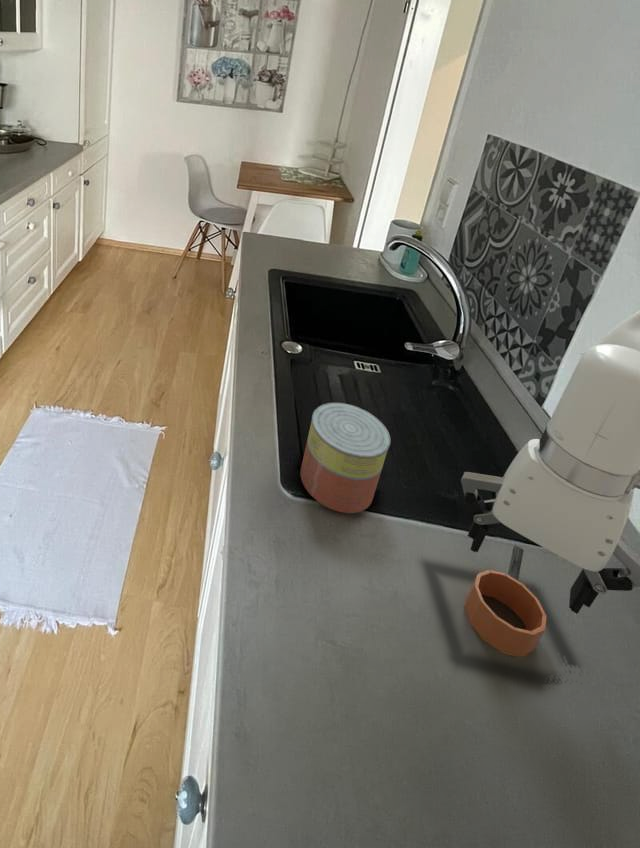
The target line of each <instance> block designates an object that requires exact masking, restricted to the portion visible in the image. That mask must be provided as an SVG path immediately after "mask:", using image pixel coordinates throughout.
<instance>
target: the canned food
mask: <svg viewBox="0 0 640 848" xmlns="http://www.w3.org/2000/svg"><path fill="white" fill-rule="evenodd" d="M391 440H392V439H391V435H390V433H389V430H388V428H387V427H386V426H385V424H383V422H382V421H381V420H380V419H379V418H378V417H376V416H375V415H373V414H372V413H370V412H369V411H367V410H365V409H363V408H361V407H359V406H357V405H353V404H349V403H344V402H328V403H323V404H321V405H319V406H318V407H316V408H315V409H314V410H313V412H312V414H311V421H310V427H309V431H308V436H307V439H306V444H305V448H304V453H303V458H302V461H301V467H300V472H299V473H300V480H301V483H302V485H303V486H304V488H305V490H306V491H307V493H308V494H309V495H310V496H311V497H312V498H313V499H314V500H315V501H316V502H318V503H320V504H321V505H323V506H324V507H326V508H328V509H330V510H333V511H335V512H340V513H345V514H356V513H360V512H363V511H366V509H368V508H369V507H370V506H371V504H372V503H373V499H374V496H375V493H376V489H377V486H378V483H379V479H380V476H381V474H382V470H383V468H384V464H385V460H386V456H387V453H388V450H389V448H390V446H391V443H392V442H391Z"/></svg>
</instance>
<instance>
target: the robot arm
mask: <svg viewBox="0 0 640 848" xmlns="http://www.w3.org/2000/svg"><path fill="white" fill-rule="evenodd" d="M460 483H461V487H462V493H463V494H464V501H465V502H466V505H467V506H468V508H469V509H470V511H471V513H472V515H473V521H472V524H471V525H470V527H469V530H468V533H467V537H468V538H470V539H472V543H471V546H470V548H469V549H470V551H472V552H473V553H479V550H480V549H481V546H482V544H483V542H484V540H485V538H486V536H487V534H488V532H489V528H490V525H495V524H503V526H506V527H507V528H508V529H511V530H512V531H514V532H515V533H517V534H519V535H521V536H522V537H525V538H526V539H528V540H529V541H530V542H531V541H532V542H533V543H535V544H537V545H538V546H540V547H542V548H544V549H545V550H547V551H550V552H551V553H553V554H555V555H556V556H558V557H560V558H562V559H564V560H565V561H568V562H569V563H571V564H573V565H575V566H577V567H579V568H581V569H582V570H581V571H580V573H579V574H578V576H577V577H576V579H575V581H574V582H573V584H572V585H571V587H570V591H569V603H568V608H569V609H570V611H571V612H573V613H575V614H579V612H580V611H581V609H582V608H583V606H585V607H587V608H590V607H591V606H592V604H593V603H594V601H596V598H597V597H598V595H599V594H602V595H606V594H607V593H608V591H621V592H623V591H624V592H629V591H630V592H631V591H632V590H633V588H636V587H637V588H640V556H639V555H638V554H637V553H636V552H635V551H634V550H633V549H632V548H631V547H630V546H629V545H627V544H626V542H625V541H624V540H622V538H621V536H622V534H623V532H624V529H625V526H626V524H627V522H628V518H629V515H630V512H631V508H632V503H633V498H634V490H635V489H637V490H640V309H639V310H638V311H636V312H634V313H632V314H631V315H630V316H629V317H627V318H625V319H624V320H622V321H621V322H619V323H618V324H617V325H615V326H614V327H613V328H612V329H611V330H609V331H608V332H607V333H606V334H605V335H604V336H603V337H602V338H601V340H600V341H599V343H598V344H596V345H593V346H591V347H589V348H588V349H587V350H585V351H584V352H583V354H581V356H580V358H579V360H578V362H577V364H576V365H575V368H574V370H573V373H572V375H571V376H570V378H569V380H568V382H567V384H566V386H565V388H564V390H563V392H562V394H561V397H560V398H559V400H558V403H557V404H556V407H555V408H554V411H553V412H552V415H551V417H550V419H549V421H548V423H547V425H546V426H545V428H544V430H543V433H542V435H541V437H540V439H538V438H532V439H530V440H528V441H527V442H526V443H525V444H524V446H523V447H522V448H521V449H520V450H519V451H518V453H517V454H516V455H515V457H514V458H513V460H512V461H511V463H510V464H509V466H508V468H507V469H506V470H505V472H504V475H503V476H496V475H489V474H484V473H477V472H470V471H463V473H462V475H461V478H460ZM478 490H481V491H488V492H494V493H495V498H491V499H486V500H484V498H483V497H482V496H481V494H480V492H479V491H478ZM613 555H614V556H615V557H616V558H617V560H618V561H619V562H620V563H622V565H624V566H625V568H623V567H606V566H607V565H608V563H609V561H610V559H611V558H612V556H613Z"/></svg>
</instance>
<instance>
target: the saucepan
mask: <svg viewBox="0 0 640 848" xmlns="http://www.w3.org/2000/svg"><path fill="white" fill-rule="evenodd" d="M523 555H524V549H523V548H522V547H520V546H518V545H514V546H513V549H512V553H511V556H510V563H509V567H508V572H507V573H506V572H501V571H498V570H497V571H496V570H493V569H487V570H485V571H481V572H478V573H477V574H476V576H475V578H474V580H473V582H472V585H471V586H470V589H469V591H468V593H467V595H466V598H465V601H464V605H463V608H464V611H465V614H466V616H467V619H468V622H469V624H470V626H471V628H473V629H474V631H476V633H477V635H478V636H480V638H481V639H482V640H483V641H484V642H486V643H487V644H489V645H490V646H492V647H493V648H494V649H495V650H498V651H499V652H501V653H502V654H505V655H509V656H513V657H518V658H522V657H524V656H526V655H529V654H531V653H532V652H533V651H534V649H535V648H536V646H537V644H538V643H539V641H540V640H541V638H542V636H543V635H544V632H545V631H546V626H547V617H548V615H547V614H546V612H545V610H544V608H543V606H542V604H541V602H540V600H539V598H537V596H536V595H535V594H534V593H533V592H532V591H530V589H529V588H528V587H527V586H526V585H525V584H524V583H522V582H520V581H519V579H520V572H521V568H522V567H521V566H522V562H523ZM483 596H485V597H489V598H494V599H496V600H498V601H499V602H500V603H502V604H503V605H506V606H507V607H508V608H510V609H511V610H512V611H513V612H514V613H515V615H517V617H518V618H519V619H520V620H521V621H522V622H523V624H524V628H525V629H523V628H519V627H515V626H513V625H512V624H511V623H509V622H507V621H506V620H504V619H503V618H501V617H500V616H498V615H497V614H496V613H495V612H494V611H493V610H492V609H491V607H490V606H489V605H488V604H487V603H486V601H485V600H484V598H483Z"/></svg>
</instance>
